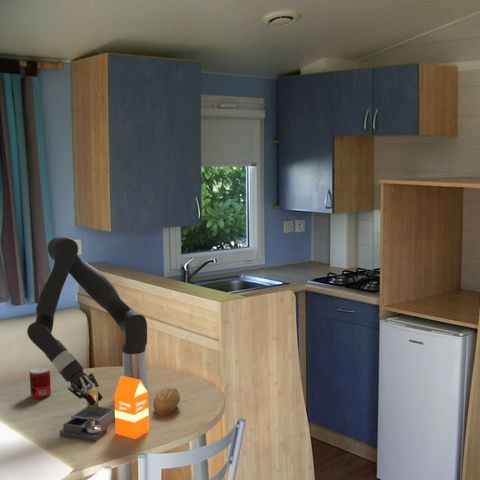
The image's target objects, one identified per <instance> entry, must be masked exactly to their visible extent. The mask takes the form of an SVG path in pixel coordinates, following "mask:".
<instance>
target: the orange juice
mask: <svg viewBox="0 0 480 480" xmlns="http://www.w3.org/2000/svg"><path fill="white" fill-rule="evenodd" d="M148 392H149V391H148V389H147V390H146V388H145V387H144V385H143V384H142V382H141V381H140V380H139V379H134V378H130V377H125V376H123V375H121V376H120V379H119V382H118V384H117V387H116V389H115V392H114V396H113V397H114V408H115V420H114V421H115V434H117V435H120V436H124V437H126V438H131V439H134V440H136V439H139V438H140V437H141V436H143V435H144V434H147V433H149V431H150V428H149V425H150V424H149V397H148V396H149V395H148V394H149V393H148Z"/></svg>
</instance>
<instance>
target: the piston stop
mask: <svg viewBox="0 0 480 480" xmlns="http://www.w3.org/2000/svg"><path fill="white" fill-rule="evenodd" d="M94 386H95V385H94ZM94 386H92V387H88V388H87V391H88V392H89V394H90V395H91V396H92V397H93V398H94V400H95V401H96V403H95V404H94V405H93V406H91V405H90V404H89V403H88V402H87V401H86V406H87V411H89V412H94V411H97V410H99V407H98V406H99V401H98V392H99V386H98V387H94Z"/></svg>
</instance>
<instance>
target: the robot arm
mask: <svg viewBox="0 0 480 480" xmlns="http://www.w3.org/2000/svg"><path fill="white" fill-rule="evenodd" d="M78 252H79V244H78V243H77V241H76V240H74V239H73V238H71V237H67V236H65V237H64V236H58V237H53V238H52V239H51V240H50V241H49V242H48V244H47V253H48V255H49V257H50V258H51V259H52V260H53V261H54V263H53V267H52V271H51V272H50V275H49V276H48V279H47V281H46V282H45V283H44V286H43V287H42V289H41V291H40V294H39V298H38V299H37V304H36V308H35V313H36V317H35V318H36V319H35V321H33V322H31V323H30V324H29V325H28V327H27V329H26V333H27V337H28V338H29V339H30V341H31V342H32V344H34V345H35V346H36V347H37V348H38V349H39V350H40V351H42V352H43V353H44V354H45V356H46V357H47V359H48V360H49V361H50V362H51V363H52V365H53V367H54V368H55V369H56V370H57V372H58V373H59V374H60V375H61V377H62V378H63V380H65V381H66V382H67V383H70V385H69V387H67V390H68V391H70V392H71V393H72V394H73V395H74V396H75V397H76V398H78V399H79V400H80V399H84V400H86V403H87V402H88V403H89V404H90V405H91V406H93V405H94V404H95V403H96V401H95V400H94V398H93V397H92V396H91V395H90V394H89V392H88V391H87V388H88V387H92V386H94V387H98V388H99V386H100V385H99V383H98V381H97V380H96V377H95V376H94V374H93V373H89V374H87V373H85V372H84V367H83V366H82V364H81V363H80V362H79V361H78V360H77V358H76V357H75V356H74V355H73V353H72V352H70V351H69V350H68V348H66V346H65V345H64V344H63V343H62V342H61V341H60V340H58V339H57V338H56V337H55V336H54V335H53V334H52V332H53V327H54V320H55V313H56V311H57V307H58V304H59V300H60V299H61V298H60V297H61V293H62V291H63V288H64V286H65V282H66V280H67V277H68V276H69V274H70V276H71V277H72V278H73V279H74V280H75V282H76V283H77V285H79V286H80V287H81V288H82V289H83V290H84V292H85V293H87V295H89V297H90V298H91V299H92V300H93V301H94V302H95V303H97V305H99V306H100V307H101V308H102V309H104V310H105V311H106V313H108V314H109V316H111V318H112V319H113V321H115V323H116V324H117V325H118V327H119V328H120V329H121V330H122V331H123V332H124V333H125V341H124V343H123V344H122V350H121V351H122V369H123V370H122V371H123V374H122V376H125V377H130V378H134V379H139V380H140V381H141V382H142V384H143V385H144V387H145V388H146V390H147V391H148V370H147V369H148V368H147V354H146V353H147V352H146V346H147V343H148V322H147V319H146V317H145V316H144V315H143V314H141V313H140V312H137V311H136V310H134V309H133V308H132V307H130V306H129V305H128V304H127V303H126V302H124V301H123V299H122V298H121V297H120V295H119V294H118V291H117V290H116V288H115V286H114V285H113V284H112V283H111V281H110V280H108V278H107V277H106V276H105V275H104V274H103V273H102V272H100V270H98V269H96V268H95V267H94V266H92V265H90V264H89V263H87V262H86V261H85V260H83V258H81V257H80V255H78ZM103 398H104V397H103V395H102V394H101V393H100V392H99V391H98V402H100V401H102V399H103Z"/></svg>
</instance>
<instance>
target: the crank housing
mask: <svg viewBox="0 0 480 480" xmlns="http://www.w3.org/2000/svg"><path fill="white" fill-rule="evenodd" d="M58 433H59V437H61V438H67V439H72V440H73V439H74V440H78V441H85V442H92V443H95V442H97V441H98V440H100V438H102V437H103V436H105V435H106V434H108V429H107V426H106V427H101V426H100V425H95V421H92V419H87V418H81V417H74V418H72V419H69V420H68V421H66V422H64V424H63V428H62V429H60V430H59V431H58Z"/></svg>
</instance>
